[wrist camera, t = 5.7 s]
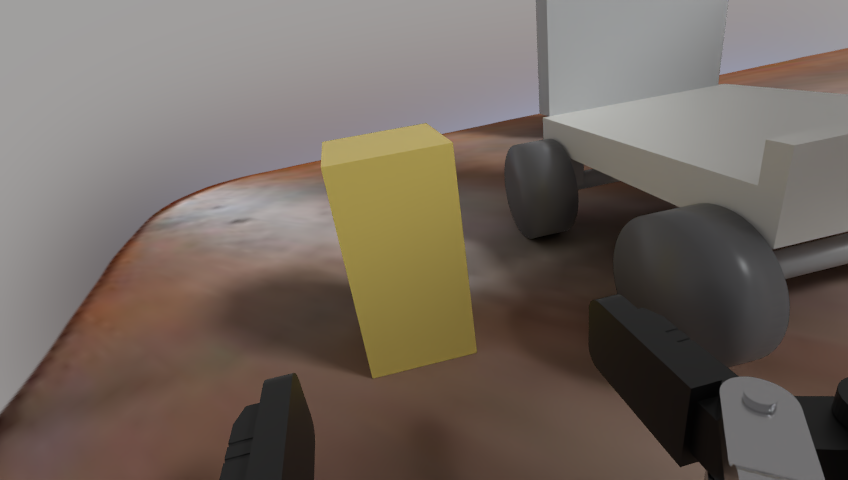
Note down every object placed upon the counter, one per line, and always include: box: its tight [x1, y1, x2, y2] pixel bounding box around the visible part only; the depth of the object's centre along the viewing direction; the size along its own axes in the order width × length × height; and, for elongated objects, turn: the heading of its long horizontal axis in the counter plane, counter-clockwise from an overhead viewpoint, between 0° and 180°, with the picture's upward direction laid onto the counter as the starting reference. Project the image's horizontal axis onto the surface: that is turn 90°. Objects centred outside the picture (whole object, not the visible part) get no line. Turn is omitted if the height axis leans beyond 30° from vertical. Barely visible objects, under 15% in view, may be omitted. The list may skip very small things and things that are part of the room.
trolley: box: [505, 0, 848, 368], centre depth 23 cm, size 21×19×20 cm
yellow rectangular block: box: [321, 123, 477, 378], centre depth 21 cm, size 5×5×10 cm
